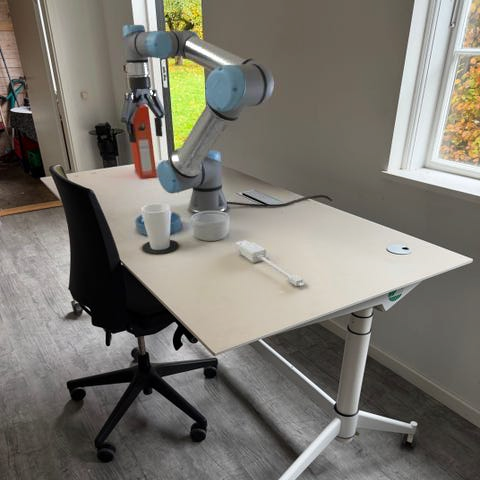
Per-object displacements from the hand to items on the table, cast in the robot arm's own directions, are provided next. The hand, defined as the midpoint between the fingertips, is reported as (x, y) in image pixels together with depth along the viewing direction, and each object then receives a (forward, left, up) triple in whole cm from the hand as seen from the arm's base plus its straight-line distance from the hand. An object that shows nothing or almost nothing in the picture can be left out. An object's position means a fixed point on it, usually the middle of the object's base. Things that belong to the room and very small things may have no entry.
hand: (146, 139), depth 177 cm
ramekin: (-23, +33, -27) cm, 48 cm away
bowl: (-4, +24, -27) cm, 36 cm away
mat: (-6, +42, -27) cm, 50 cm away
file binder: (+10, -55, -27) cm, 62 cm away
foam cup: (-6, +42, -26) cm, 50 cm away
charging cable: (-40, +60, -27) cm, 77 cm away
